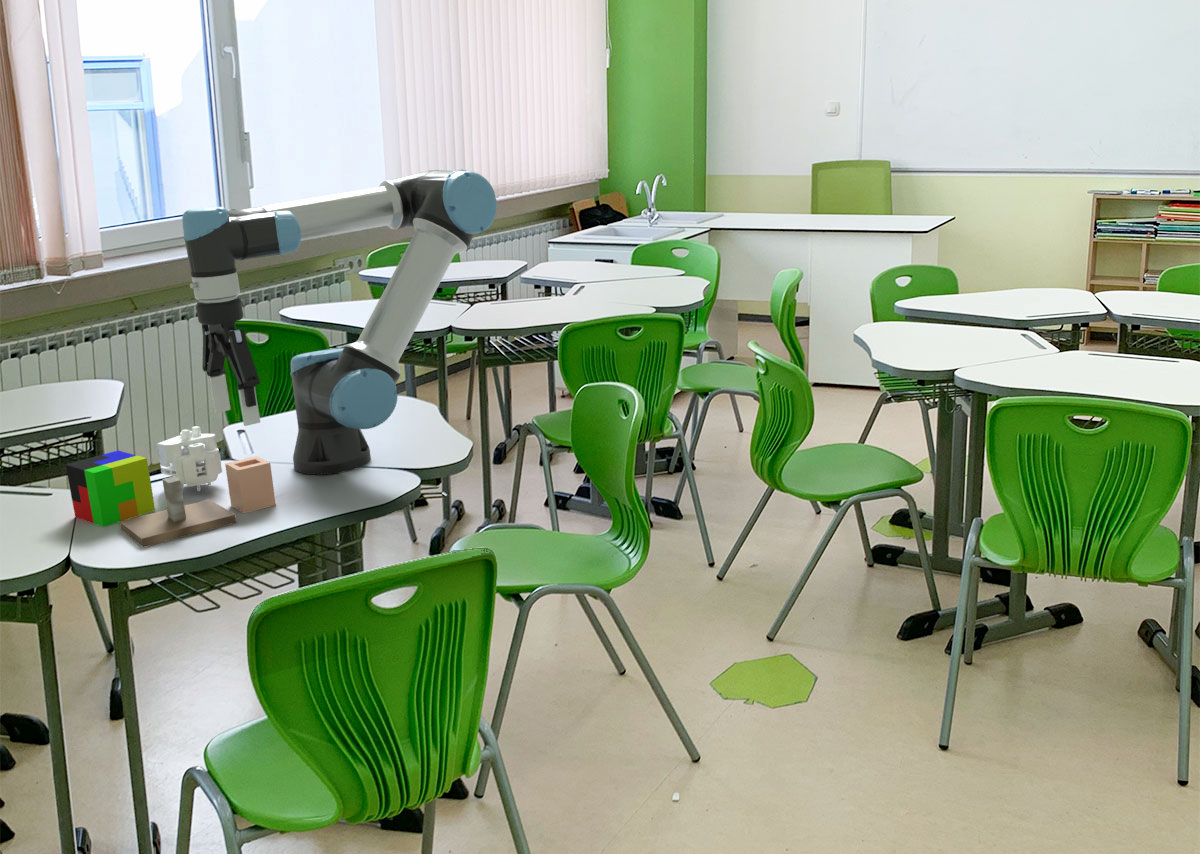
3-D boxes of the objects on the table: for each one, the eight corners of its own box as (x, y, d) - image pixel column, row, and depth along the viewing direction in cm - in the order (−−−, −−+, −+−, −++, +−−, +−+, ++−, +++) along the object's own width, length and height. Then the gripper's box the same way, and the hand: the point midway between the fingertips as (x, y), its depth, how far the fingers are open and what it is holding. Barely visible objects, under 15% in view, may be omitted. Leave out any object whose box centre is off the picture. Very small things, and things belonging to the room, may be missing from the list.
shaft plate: (211, 507, 212) (204, 462, 210) (236, 522, 203) (229, 476, 201) (120, 529, 203) (112, 483, 201) (143, 547, 194) (134, 498, 192)
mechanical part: (213, 474, 232) (204, 417, 229) (234, 488, 223) (225, 428, 220) (155, 487, 226) (145, 428, 223) (174, 502, 216) (164, 440, 213)
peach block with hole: (262, 497, 216) (256, 456, 214) (275, 504, 212) (270, 462, 209) (231, 505, 213) (225, 463, 211) (243, 513, 208) (237, 470, 206)
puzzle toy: (126, 501, 219) (118, 450, 216) (155, 510, 212) (146, 458, 210) (75, 517, 211) (65, 464, 209) (103, 527, 205) (93, 473, 202)
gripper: (171, 295, 209) (191, 410, 215) (223, 309, 190) (244, 434, 195) (212, 289, 213) (230, 401, 219) (267, 302, 194) (286, 424, 200)
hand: (237, 417), depth 207 cm, fingers open, 13 cm apart
